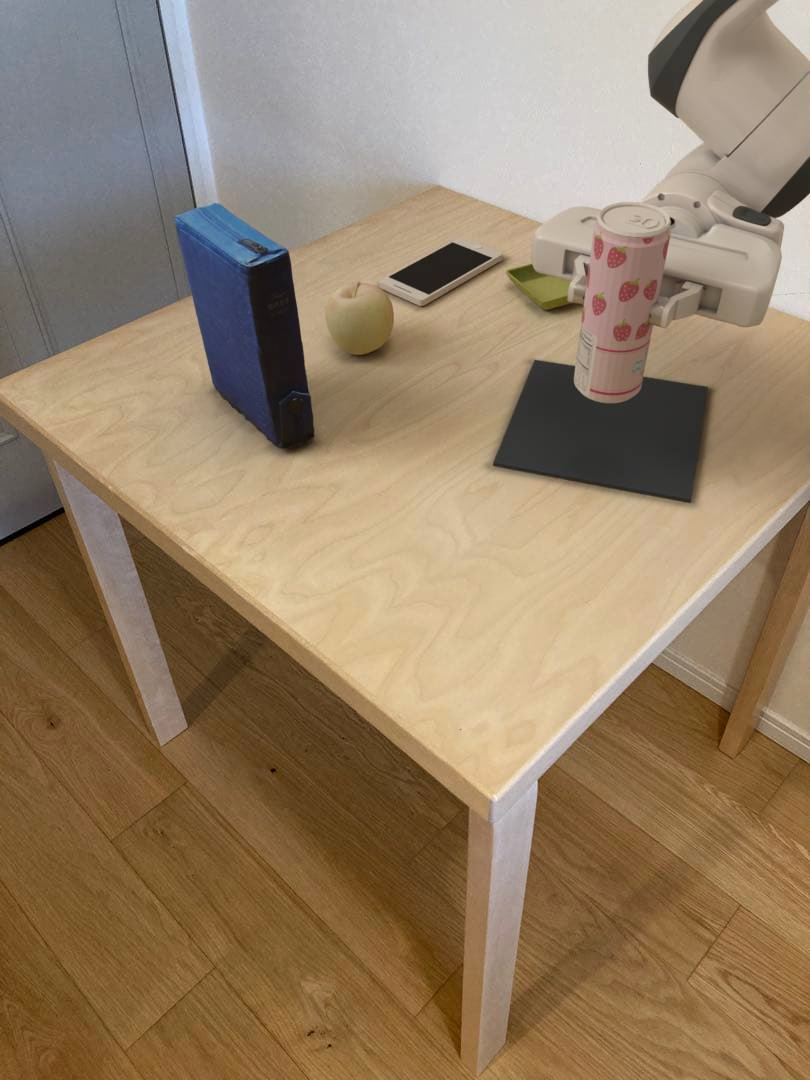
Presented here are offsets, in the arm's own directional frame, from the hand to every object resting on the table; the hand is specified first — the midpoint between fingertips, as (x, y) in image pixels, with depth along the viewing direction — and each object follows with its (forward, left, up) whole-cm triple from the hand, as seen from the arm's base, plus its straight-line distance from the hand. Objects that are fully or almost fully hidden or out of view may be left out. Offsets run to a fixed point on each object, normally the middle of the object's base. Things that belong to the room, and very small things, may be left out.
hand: (616, 307), depth 70 cm
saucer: (+10, -32, -17) cm, 37 cm away
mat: (0, -8, -17) cm, 19 cm away
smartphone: (+24, -33, -17) cm, 44 cm away
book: (+33, 0, -17) cm, 37 cm away
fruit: (+28, -15, -17) cm, 36 cm away
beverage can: (0, -1, -8) cm, 8 cm away
